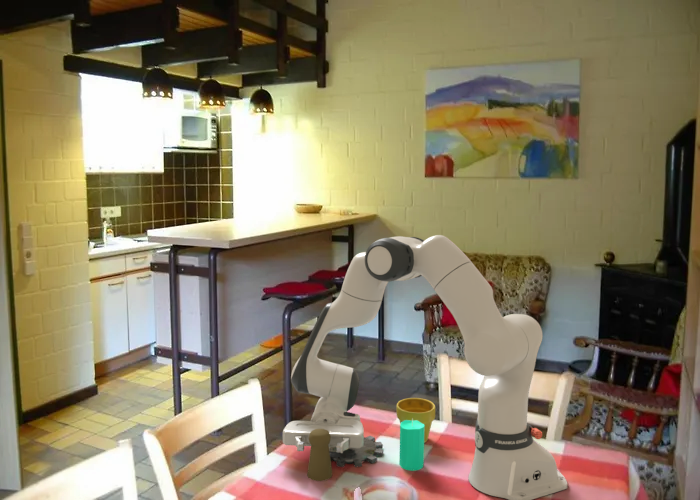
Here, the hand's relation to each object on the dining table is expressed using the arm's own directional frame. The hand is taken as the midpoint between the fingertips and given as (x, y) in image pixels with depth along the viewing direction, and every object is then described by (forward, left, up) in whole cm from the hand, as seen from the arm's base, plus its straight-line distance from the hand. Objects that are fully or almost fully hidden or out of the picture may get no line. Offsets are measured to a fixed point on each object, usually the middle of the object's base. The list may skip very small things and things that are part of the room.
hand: (319, 449), depth 143 cm
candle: (-23, +1, -7) cm, 24 cm away
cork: (0, 0, -7) cm, 7 cm away
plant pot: (-29, -12, -7) cm, 32 cm away
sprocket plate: (-10, -10, -7) cm, 16 cm away
